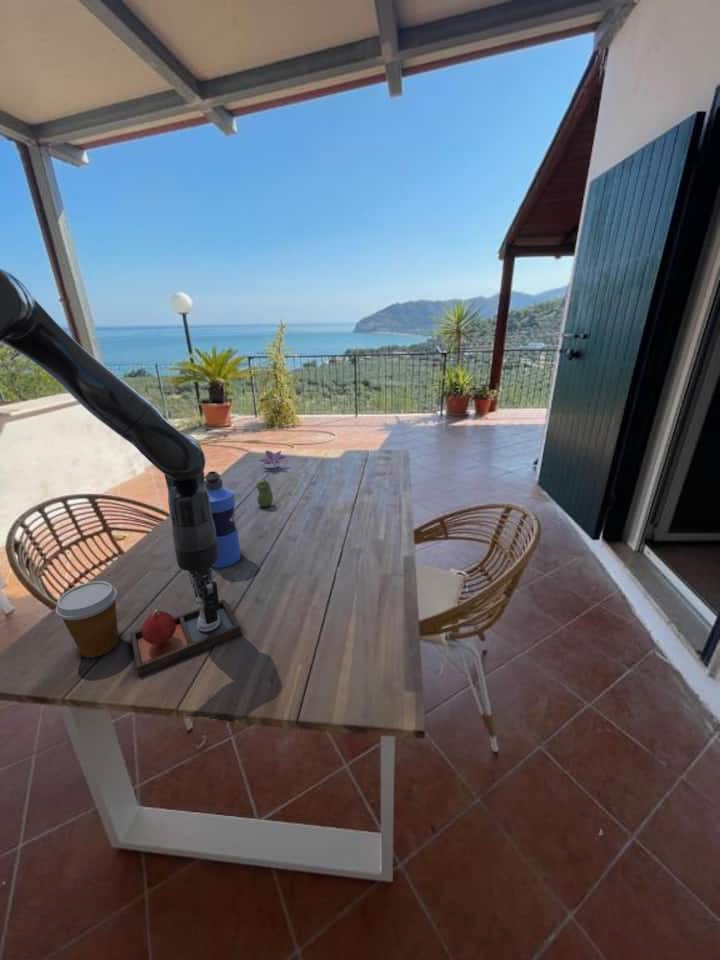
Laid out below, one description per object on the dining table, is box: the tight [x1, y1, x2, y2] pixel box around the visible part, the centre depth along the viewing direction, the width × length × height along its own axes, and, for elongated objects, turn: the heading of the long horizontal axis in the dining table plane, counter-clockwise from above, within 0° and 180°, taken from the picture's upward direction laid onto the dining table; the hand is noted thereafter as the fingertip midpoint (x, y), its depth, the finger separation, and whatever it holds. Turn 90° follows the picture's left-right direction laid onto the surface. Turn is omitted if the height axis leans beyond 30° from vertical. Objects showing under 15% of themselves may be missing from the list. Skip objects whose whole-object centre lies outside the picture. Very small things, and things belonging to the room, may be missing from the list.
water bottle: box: [204, 471, 242, 569], centre depth 102 cm, size 9×9×25 cm
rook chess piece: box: [195, 597, 220, 632], centre depth 79 cm, size 4×4×8 cm
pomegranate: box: [141, 609, 176, 645], centre depth 74 cm, size 6×6×8 cm
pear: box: [256, 479, 274, 508], centre depth 138 cm, size 6×5×10 cm
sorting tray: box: [129, 598, 242, 677], centre depth 78 cm, size 19×11×2 cm, turn 125°
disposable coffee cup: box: [55, 580, 119, 658], centre depth 74 cm, size 10×10×12 cm
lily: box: [259, 449, 288, 473], centre depth 177 cm, size 12×12×10 cm
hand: (207, 611), depth 79 cm, fingers open, 6 cm apart
